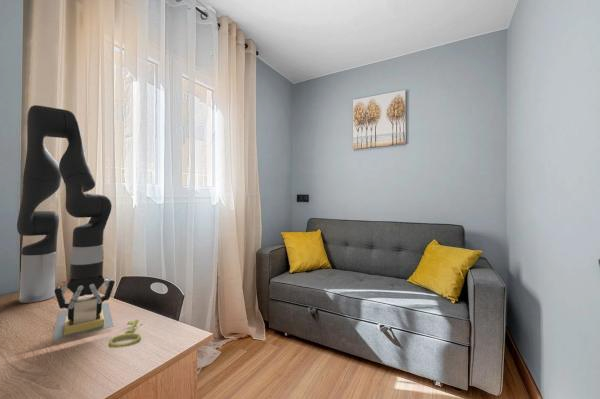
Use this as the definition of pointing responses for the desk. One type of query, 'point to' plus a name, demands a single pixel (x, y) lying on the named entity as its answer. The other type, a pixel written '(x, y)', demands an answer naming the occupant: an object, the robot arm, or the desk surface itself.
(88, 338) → the desk surface
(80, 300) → the beech block
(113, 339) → the key
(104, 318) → the puzzle board
